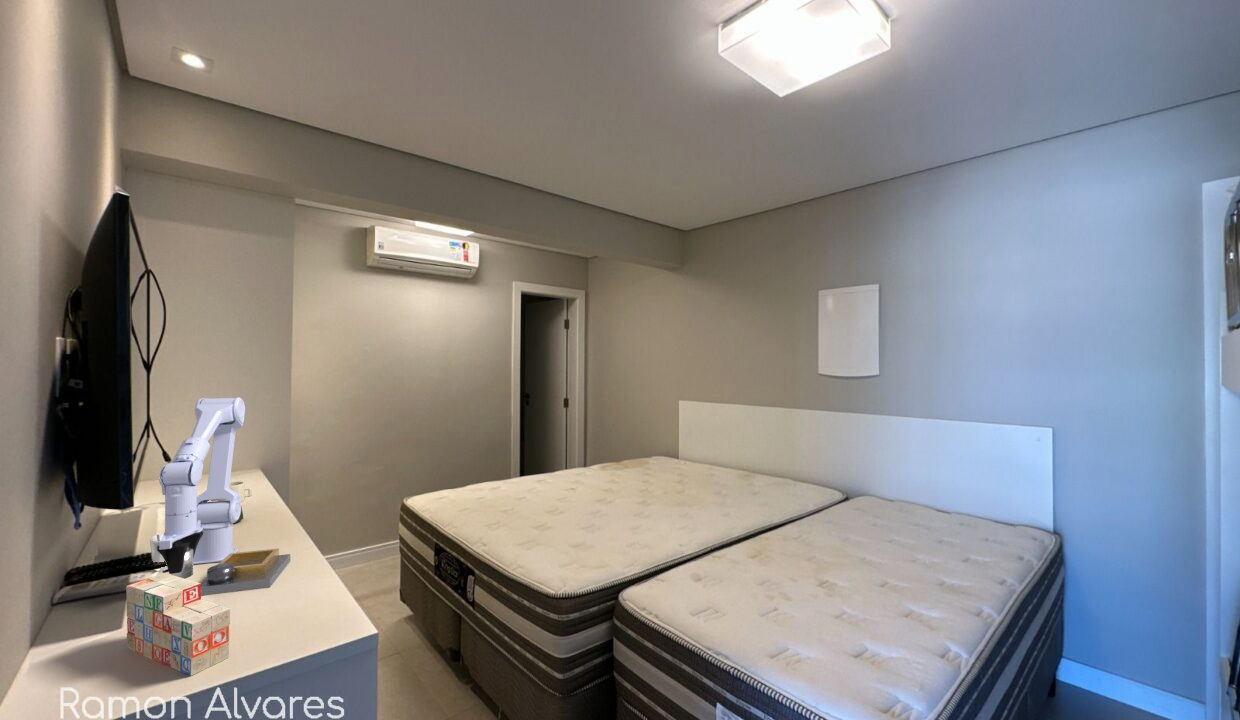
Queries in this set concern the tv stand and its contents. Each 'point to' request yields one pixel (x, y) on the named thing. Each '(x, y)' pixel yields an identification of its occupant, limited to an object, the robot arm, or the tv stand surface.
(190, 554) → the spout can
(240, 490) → the character mug
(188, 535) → the robot arm
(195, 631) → the stack of blocks
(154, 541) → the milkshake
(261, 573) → the grey piece
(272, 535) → the tv stand surface
